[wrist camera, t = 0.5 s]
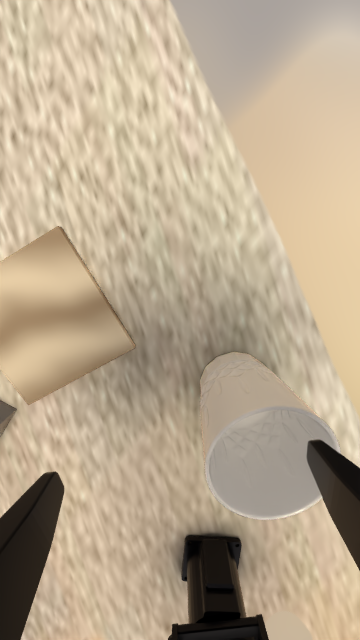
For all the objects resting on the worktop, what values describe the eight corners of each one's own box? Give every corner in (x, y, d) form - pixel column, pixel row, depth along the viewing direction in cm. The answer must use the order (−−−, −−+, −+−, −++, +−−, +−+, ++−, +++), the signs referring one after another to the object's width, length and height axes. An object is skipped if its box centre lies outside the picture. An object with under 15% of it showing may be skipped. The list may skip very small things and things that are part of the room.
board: (135, 345, 23) (134, 348, 22) (32, 401, 24) (28, 405, 23) (61, 227, 20) (57, 226, 20) (-51, 296, 21) (-57, 297, 21)
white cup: (229, 432, 25) (262, 540, 15) (177, 381, 23) (176, 465, 14) (289, 384, 24) (368, 469, 14) (238, 328, 22) (286, 379, 13)
